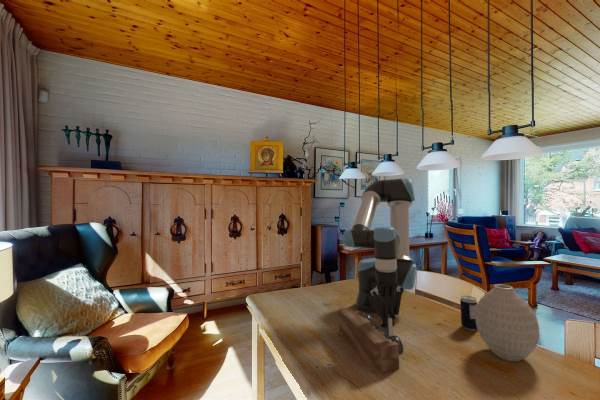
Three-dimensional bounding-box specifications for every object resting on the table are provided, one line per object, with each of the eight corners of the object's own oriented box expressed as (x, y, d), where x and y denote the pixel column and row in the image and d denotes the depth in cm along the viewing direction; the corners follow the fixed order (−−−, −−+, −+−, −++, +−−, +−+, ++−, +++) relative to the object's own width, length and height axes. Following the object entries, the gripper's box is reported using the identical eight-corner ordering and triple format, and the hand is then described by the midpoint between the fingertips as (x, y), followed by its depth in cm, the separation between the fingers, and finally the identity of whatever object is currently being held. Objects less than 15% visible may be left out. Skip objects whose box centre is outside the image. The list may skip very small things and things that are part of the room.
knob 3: (393, 349, 86) (392, 332, 86) (403, 358, 81) (402, 340, 81) (369, 353, 84) (368, 336, 84) (378, 363, 79) (378, 345, 79)
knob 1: (366, 325, 104) (365, 311, 104) (373, 331, 98) (372, 317, 98) (346, 328, 101) (345, 314, 101) (352, 335, 96) (351, 320, 96)
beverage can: (476, 325, 104) (474, 295, 104) (480, 332, 98) (479, 300, 99) (459, 324, 106) (458, 294, 106) (463, 330, 100) (462, 299, 101)
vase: (526, 378, 72) (521, 298, 73) (466, 350, 87) (463, 284, 87) (551, 360, 80) (546, 288, 80) (492, 337, 94) (489, 276, 95)
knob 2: (379, 336, 95) (378, 320, 95) (388, 343, 90) (387, 327, 90) (357, 339, 93) (357, 324, 93) (365, 348, 87) (364, 331, 87)
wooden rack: (357, 328, 104) (356, 306, 105) (399, 368, 78) (398, 339, 79) (339, 332, 102) (338, 309, 103) (375, 374, 76) (374, 343, 77)
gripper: (395, 265, 99) (398, 328, 98) (364, 269, 95) (367, 333, 95) (408, 270, 91) (411, 337, 91) (375, 273, 88) (378, 343, 87)
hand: (388, 335), depth 93 cm, fingers closed
